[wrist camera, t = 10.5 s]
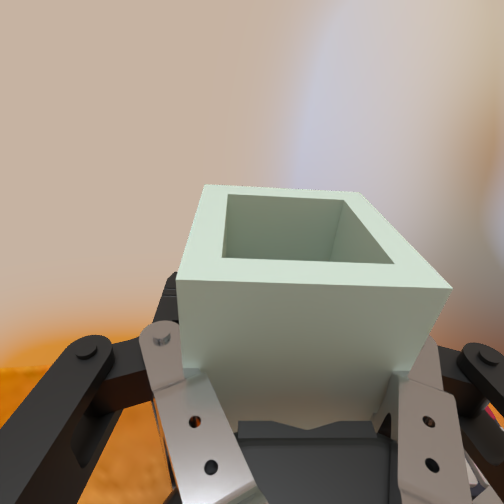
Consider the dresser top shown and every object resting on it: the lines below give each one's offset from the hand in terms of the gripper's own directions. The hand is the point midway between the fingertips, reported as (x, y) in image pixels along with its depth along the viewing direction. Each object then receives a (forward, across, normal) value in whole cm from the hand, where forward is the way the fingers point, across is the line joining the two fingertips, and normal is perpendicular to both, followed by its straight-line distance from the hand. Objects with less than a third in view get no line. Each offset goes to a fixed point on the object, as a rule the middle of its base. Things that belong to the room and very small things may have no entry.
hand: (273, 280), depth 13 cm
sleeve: (-2, 0, +6) cm, 6 cm away
